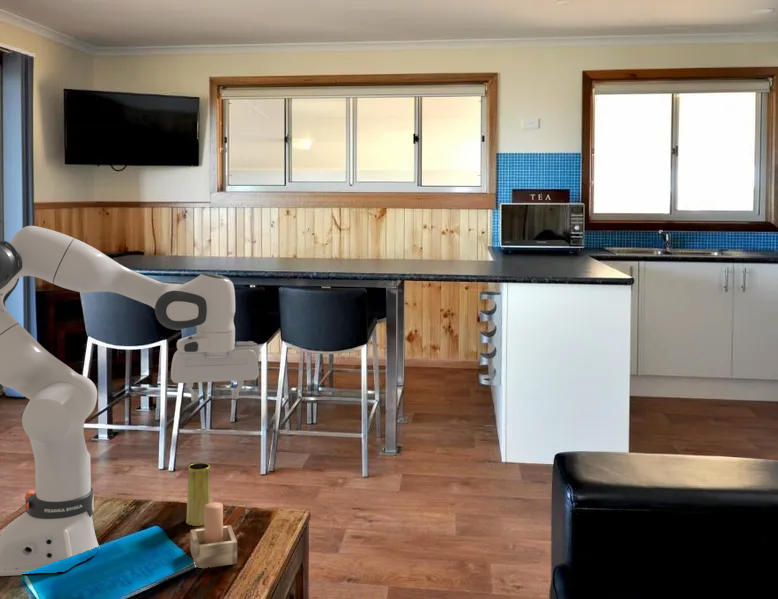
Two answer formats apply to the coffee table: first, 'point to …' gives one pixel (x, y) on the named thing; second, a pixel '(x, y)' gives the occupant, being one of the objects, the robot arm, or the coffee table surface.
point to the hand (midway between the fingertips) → (215, 399)
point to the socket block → (214, 549)
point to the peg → (213, 523)
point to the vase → (197, 492)
